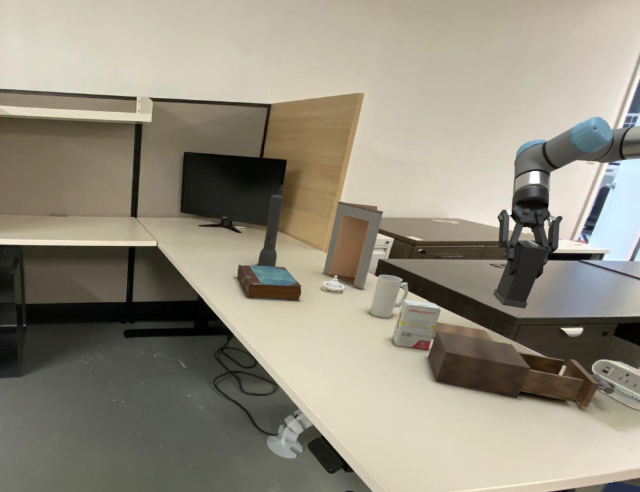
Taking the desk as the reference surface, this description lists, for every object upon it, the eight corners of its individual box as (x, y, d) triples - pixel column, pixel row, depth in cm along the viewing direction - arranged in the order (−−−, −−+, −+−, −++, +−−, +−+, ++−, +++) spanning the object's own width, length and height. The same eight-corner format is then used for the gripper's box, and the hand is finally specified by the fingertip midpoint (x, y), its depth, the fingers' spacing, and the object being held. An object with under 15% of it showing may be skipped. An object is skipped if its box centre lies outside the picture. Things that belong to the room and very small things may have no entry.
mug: (373, 317, 145) (383, 280, 139) (365, 309, 151) (375, 274, 146) (405, 319, 145) (416, 282, 140) (396, 312, 151) (407, 276, 146)
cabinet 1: (323, 273, 188) (338, 201, 176) (341, 272, 192) (357, 201, 180) (360, 289, 171) (379, 211, 159) (379, 288, 174) (400, 211, 163)
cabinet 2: (500, 371, 115) (512, 344, 112) (517, 398, 104) (530, 368, 100) (427, 357, 120) (436, 330, 117) (435, 381, 108) (446, 352, 105)
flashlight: (254, 264, 192) (265, 269, 186) (264, 194, 180) (276, 197, 175) (267, 263, 195) (278, 268, 190) (278, 194, 183) (290, 197, 178)
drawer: (586, 385, 110) (598, 364, 107) (612, 412, 99) (625, 389, 97) (491, 367, 115) (500, 346, 113) (506, 390, 104) (515, 368, 102)
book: (236, 277, 173) (238, 264, 171) (283, 280, 174) (285, 267, 172) (247, 298, 153) (249, 283, 151) (300, 301, 154) (302, 286, 152)
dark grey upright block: (514, 297, 121) (537, 240, 115) (525, 308, 114) (551, 247, 107) (492, 294, 123) (514, 237, 116) (502, 305, 115) (526, 244, 109)
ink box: (423, 343, 129) (436, 302, 124) (428, 350, 124) (442, 309, 119) (391, 338, 130) (402, 298, 125) (394, 345, 126) (407, 304, 121)
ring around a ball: (329, 285, 172) (316, 288, 168) (333, 270, 170) (319, 273, 165) (348, 292, 167) (334, 295, 162) (352, 277, 164) (338, 280, 160)
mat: (484, 332, 140) (485, 330, 140) (496, 350, 128) (497, 348, 128) (426, 321, 144) (427, 320, 144) (433, 338, 132) (433, 336, 132)
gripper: (561, 208, 120) (559, 287, 113) (485, 200, 125) (478, 275, 117) (579, 189, 113) (578, 272, 106) (498, 181, 118) (491, 260, 110)
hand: (525, 273), depth 111 cm, fingers closed on dark grey upright block, 4 cm apart
